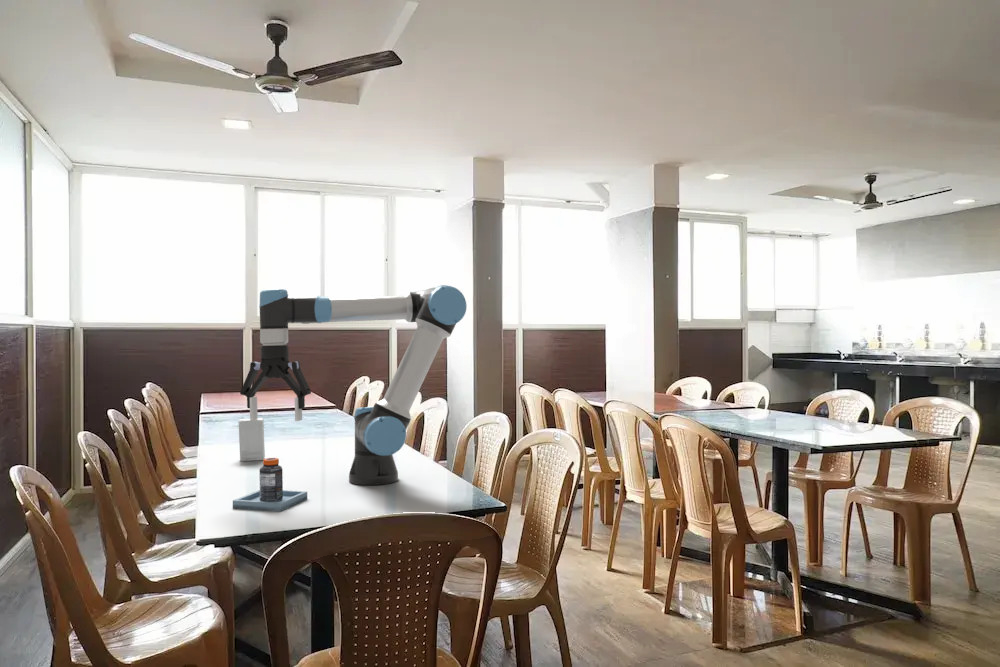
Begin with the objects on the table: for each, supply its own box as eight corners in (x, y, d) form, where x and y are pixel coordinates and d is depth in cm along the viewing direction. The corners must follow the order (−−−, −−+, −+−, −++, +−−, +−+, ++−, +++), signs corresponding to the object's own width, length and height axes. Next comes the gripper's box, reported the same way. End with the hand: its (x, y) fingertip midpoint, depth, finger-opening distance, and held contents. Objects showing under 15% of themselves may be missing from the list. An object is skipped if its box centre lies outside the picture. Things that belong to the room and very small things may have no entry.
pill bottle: (274, 496, 196) (274, 455, 196) (287, 499, 192) (287, 458, 192) (255, 500, 191) (255, 458, 191) (267, 503, 188) (267, 461, 188)
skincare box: (264, 457, 260) (264, 417, 260) (263, 460, 254) (263, 419, 254) (240, 458, 258) (240, 417, 258) (238, 461, 252) (238, 420, 252)
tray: (307, 498, 197) (307, 491, 197) (280, 511, 183) (280, 503, 183) (262, 495, 200) (262, 488, 200) (232, 508, 187) (232, 500, 187)
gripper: (322, 343, 199) (323, 418, 200) (241, 344, 204) (242, 418, 204) (310, 344, 192) (311, 422, 192) (226, 345, 197) (228, 421, 197)
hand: (276, 420), depth 198 cm, fingers open, 13 cm apart
